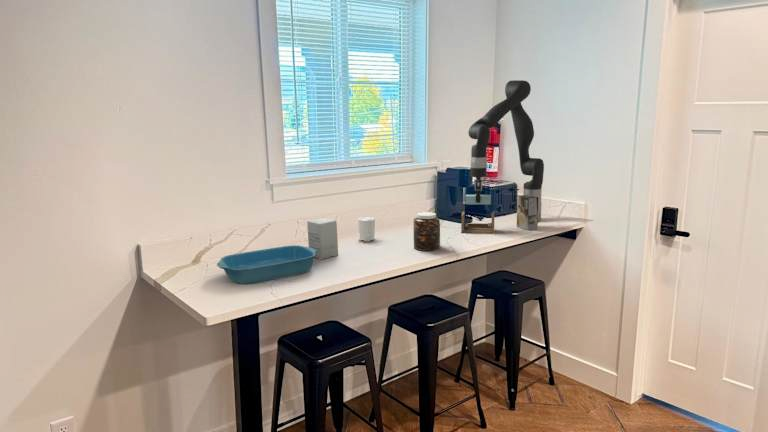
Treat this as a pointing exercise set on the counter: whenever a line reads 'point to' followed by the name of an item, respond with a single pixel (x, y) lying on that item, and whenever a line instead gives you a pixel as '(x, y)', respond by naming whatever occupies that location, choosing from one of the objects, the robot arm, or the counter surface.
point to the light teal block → (484, 199)
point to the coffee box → (527, 212)
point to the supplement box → (323, 237)
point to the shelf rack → (477, 226)
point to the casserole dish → (267, 263)
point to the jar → (426, 232)
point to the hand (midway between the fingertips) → (478, 201)
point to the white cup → (366, 228)
